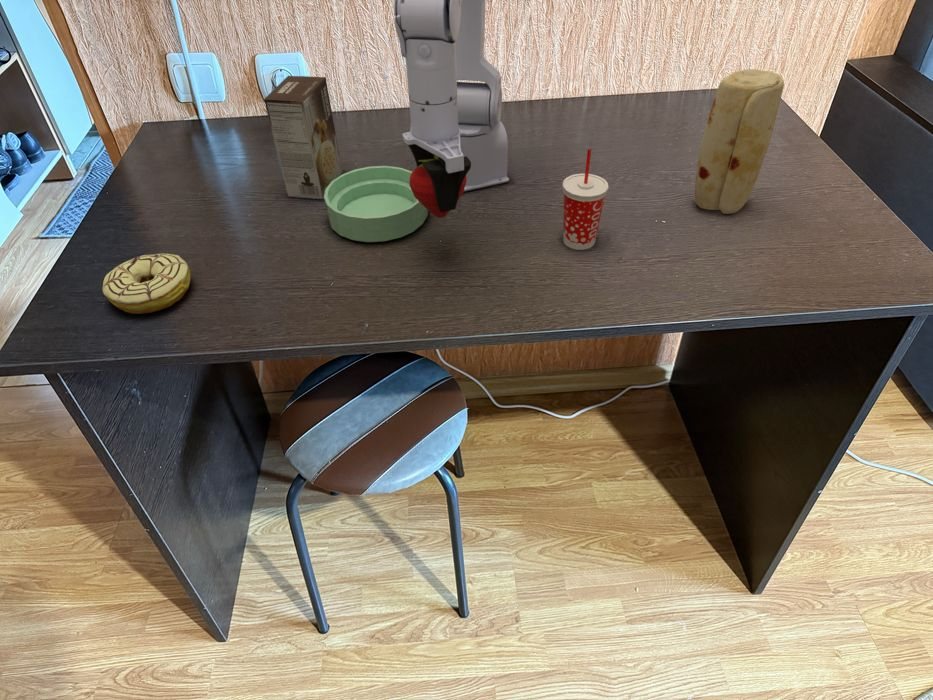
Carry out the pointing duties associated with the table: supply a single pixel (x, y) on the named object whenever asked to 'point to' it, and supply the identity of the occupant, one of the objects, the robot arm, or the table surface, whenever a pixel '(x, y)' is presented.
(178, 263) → the decorated donut
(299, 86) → the coffee box
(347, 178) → the mint green dish
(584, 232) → the beverage cup
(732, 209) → the food model
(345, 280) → the table surface
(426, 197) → the strawberry
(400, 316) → the table surface
